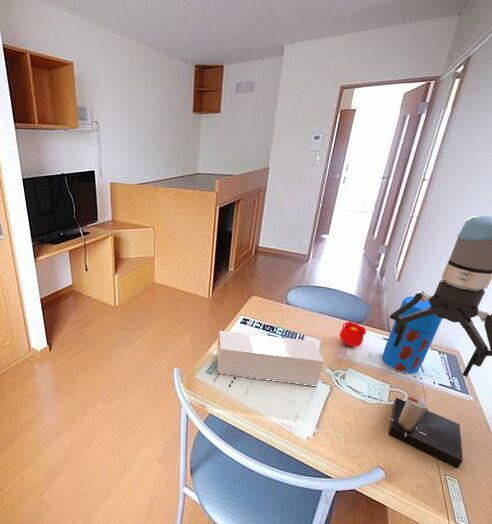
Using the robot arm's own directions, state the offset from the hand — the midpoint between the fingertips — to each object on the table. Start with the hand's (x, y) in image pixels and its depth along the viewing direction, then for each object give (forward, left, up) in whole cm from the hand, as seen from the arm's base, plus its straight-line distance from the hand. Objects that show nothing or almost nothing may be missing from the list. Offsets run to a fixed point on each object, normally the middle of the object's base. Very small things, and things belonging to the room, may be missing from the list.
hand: (428, 358), depth 78 cm
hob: (-5, -1, -24) cm, 25 cm away
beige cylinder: (-1, +3, -21) cm, 21 cm away
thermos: (+2, -33, -24) cm, 41 cm away
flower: (+18, -34, -24) cm, 46 cm away
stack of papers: (+38, +4, -24) cm, 45 cm away
